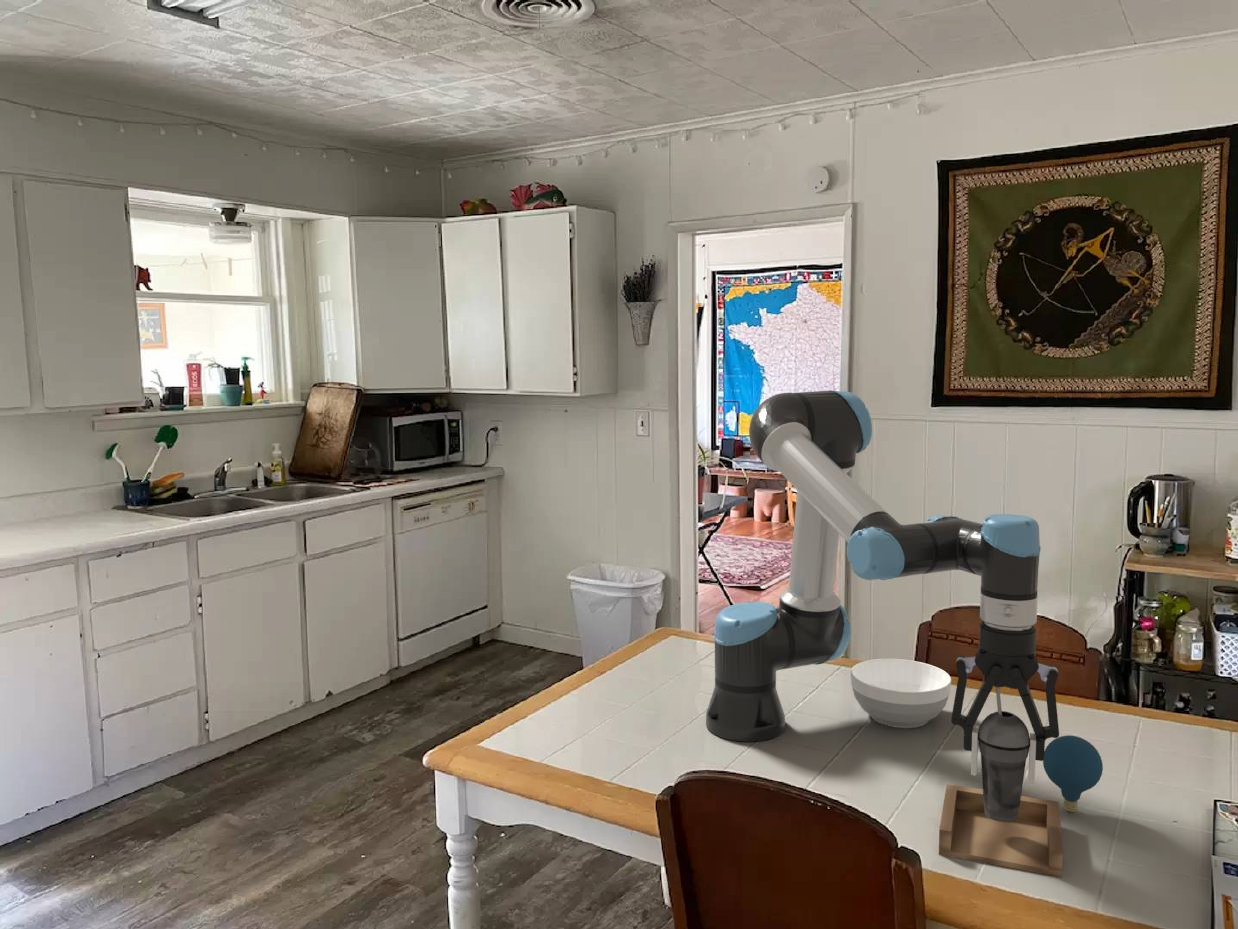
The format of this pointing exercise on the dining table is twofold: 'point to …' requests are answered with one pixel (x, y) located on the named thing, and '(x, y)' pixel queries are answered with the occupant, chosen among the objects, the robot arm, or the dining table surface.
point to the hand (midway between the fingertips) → (1002, 775)
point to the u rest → (1001, 832)
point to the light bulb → (1072, 767)
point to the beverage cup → (1003, 762)
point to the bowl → (900, 691)
